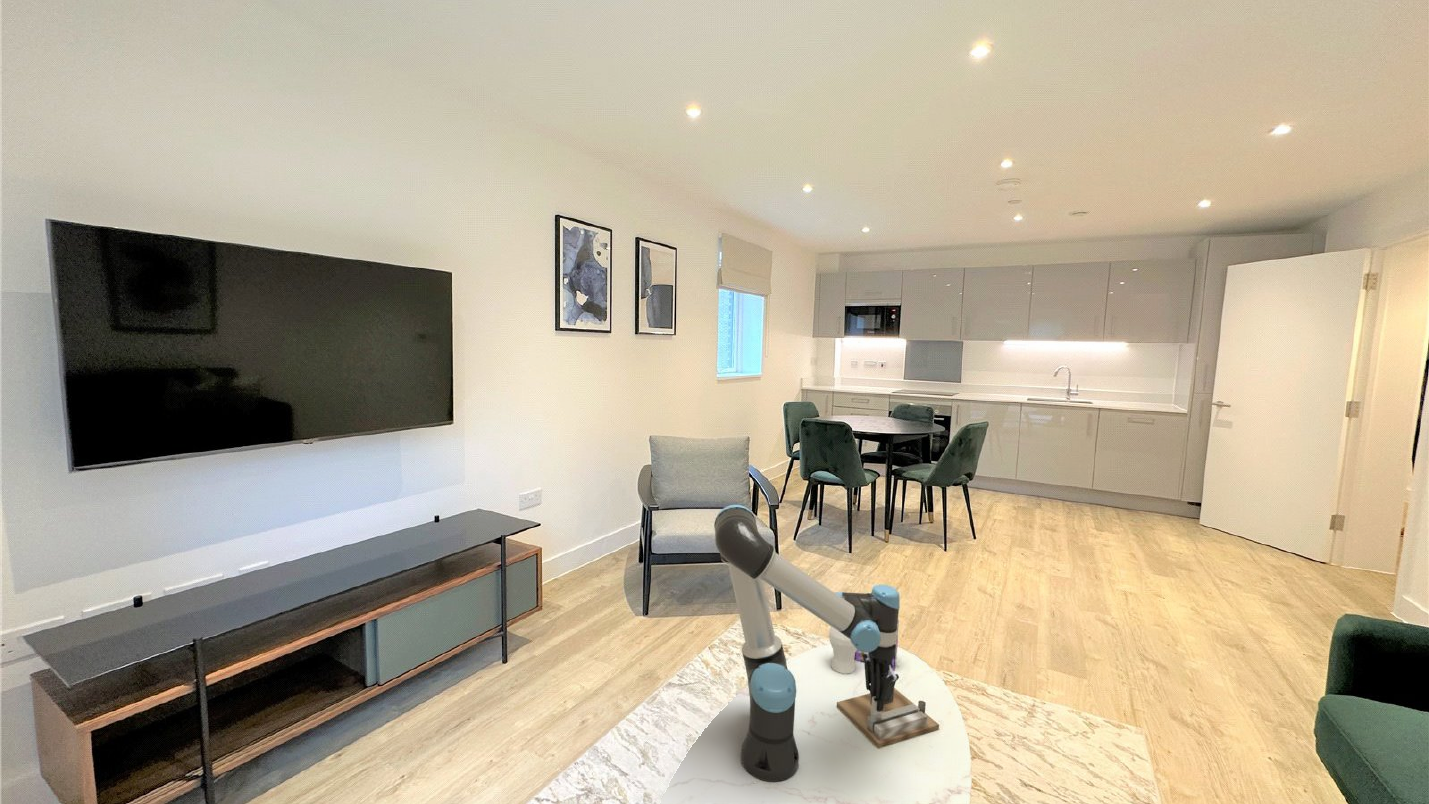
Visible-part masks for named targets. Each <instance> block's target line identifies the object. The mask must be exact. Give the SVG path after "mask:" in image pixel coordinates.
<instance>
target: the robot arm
mask: <svg viewBox="0 0 1429 804" xmlns="http://www.w3.org/2000/svg"><path fill="white" fill-rule="evenodd" d="M713 526H714V527H713V528H714V534H715V538H714V540H715V546H716V548H717V551H718V552H719V555H720V559H721V561H722V563H724V564H726V565H727V566H728V570H729V575H730V579H731V583H732V588H733V592H734V593H733V594H734V596H735V602H736V606H737V609H738V611H737V612H738V615H739V618H740V624H741V628H742V632H743V633H742V634H743V636H744V637H743V638H744V643H743V644H742V647H741V653H742V658H743V662H744V666H745V671H746V676H747V684H748V685H747V686H748V694H749V695H748V696H749V719H748V722H749V723H748V730H747V732H746V735H745V738H744V741H743V743H742V744H741V749H740V750H741V751H740V761H741V764H742V766H743V768H744V769H745V770H746V771H747V772H748V773H749V774H750V775H751V776H753V777H755V778H757V779H759V778H760V779H759V780H762V781H765V782H781V781H785V780H787V779H790V778H791V777H792V776H794V775H795V774H796V773H797V771H798V769H799V762H800V755H799V754H800V753H799V750H798V747H797V743H796V739H795V735H794V730H795V729H794V728H795V726H794V725H795V710H796V708H795V707H796V697H797V685H796V678H795V676H794V674H793V673H792V671H791V670H789V669H788V665H787V659H786V658H787V657H786V655H785V651H784V647H783V642H782V640H781V638H780V637H779V636H777V635H775V629H774V627H773V621H772V617H771V611H770V608H769V603H768V598H767V592H766V590H765V584H764V583H767V584H768V585H769V586H771V587H772V588H774V589H775V590H777V591H778V592H779V593H781V594H782V595H784V596H786V597H787V598H789V600H792V601H793V602H794V603H796V604H797V605H799V606H800V607H802V608H804V609H805V610H806V611H808V613H809V612H810V613H811V614H812V615H814V616H816V617H817V618H818V619H820V620H822V621H823V622H824V623H826V624H827V625H829V626H832V627H833V628H835V629H836V630H838V631H839V632H841V633H842V634H843V635H845V636H846V637H848V638H849V639H850V640H851V642H852V644H853V645H854V646H855V647H856V649H858V650H859V651H861V652H868V653H865V654H863V655H862V656H863V660H864V664H863V667H864V677H865V688H866V690H867V691H869V694H870V695H871V702H870V703H871V716H873V715H877V714H880V713H882V711H883V706H884V702H888V701H890V699H891V695H892V692H893V689H894V688H895V684H896V682H897V681H898V680H899V679H900V676H899V674H898V673H895V670H892V669H893V664H892V660H893V658H894V657H895V650H896V644H895V643H896V636H897V623H898V618H899V615H900V613H899V611H900V608H901V607H900V593H899V592H900V591H898V590H897V589H896V588H895V587H894V586H891V585H888V584H877V585H874V586H873V587H872V589H871V592H870V593H869V592H867V593H865V592H864V593H862V592H860V593H859V592H846V591H845V592H844V591H838V592H834V590H831V589H830V588H828V587H827V586H825V585H824V584H822V583H821V582H820V581H818V580H816V579H815V578H814V577H812V576H810V574H808V573H807V572H805V571H803V570H802V569H800V568H799V567H798V566H796V565H794V564H793V563H792V562H790V561H789V560H787V559H786V558H785V557H783V556H782V555H780V554H779V553H777V552H776V548H775V546H774V545H772V544H771V543H769V542H768V541H767V540H765V538H764V537H763V536H762V535H761V534H760V532H759V530H758V525H757V520H756V517H755V515H754V514H753V512H752V511H751V509H749V508H747V507H746V506H745V505H742V504H731V505H727V506H725V507H723V508H722V509H720V511H719V512H718V514H717V516H716V517H715V520H714V525H713Z"/></svg>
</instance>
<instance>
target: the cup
mask: <svg viewBox="0 0 1429 804" xmlns="http://www.w3.org/2000/svg"><path fill="white" fill-rule="evenodd" d="M829 626H830V625H829ZM828 632H829V633H828V638H829V642H830V645H831V647H832V650H833V651H832V653H833V656H832V660H831V667H832V669H833V670H834V671H836V672H837V673H840V674H845V675H846V674H852V673H854V672H855V669H856V668H855V660H854V658H855V652H856V650H857V649H856V647H855V646H854V645H853V644H852V642H851V640H850V639H849V638H848V637H846V636H845V635H843V634H842V633H841V632H839V631H838V630H836V629H835V628H833V627H832V626H830V627H829V631H828Z"/></svg>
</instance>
